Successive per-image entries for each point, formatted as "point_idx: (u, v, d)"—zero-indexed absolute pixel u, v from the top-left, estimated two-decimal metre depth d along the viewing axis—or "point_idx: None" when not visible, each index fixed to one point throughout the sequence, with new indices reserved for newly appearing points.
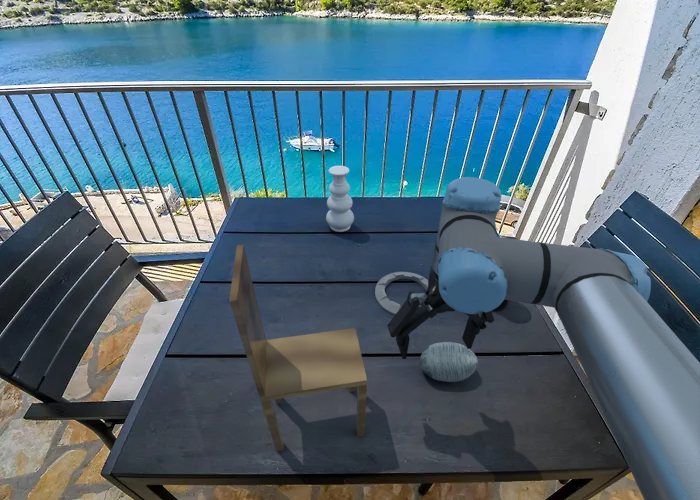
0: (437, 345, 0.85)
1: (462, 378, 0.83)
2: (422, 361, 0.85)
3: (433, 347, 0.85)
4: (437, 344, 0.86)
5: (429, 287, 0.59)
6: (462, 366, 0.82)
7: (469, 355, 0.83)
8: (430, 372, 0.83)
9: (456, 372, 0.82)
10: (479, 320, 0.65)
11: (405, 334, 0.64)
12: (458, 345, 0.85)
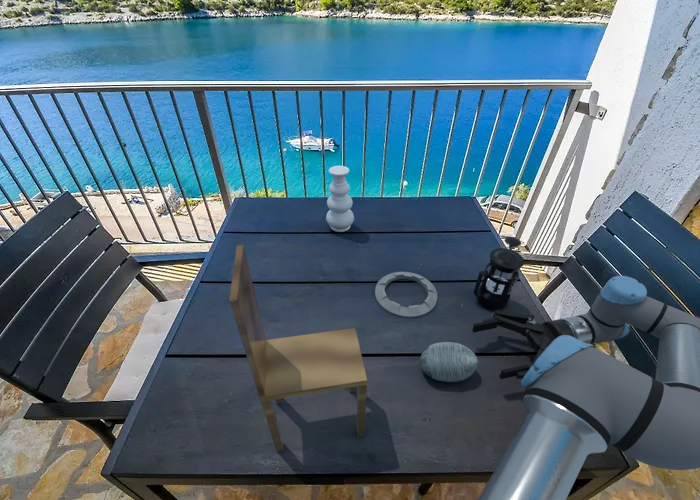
0: (437, 345, 0.85)
1: (462, 378, 0.83)
2: (422, 361, 0.85)
3: (433, 347, 0.85)
4: (437, 344, 0.86)
5: None
6: (462, 366, 0.82)
7: (469, 355, 0.83)
8: (430, 372, 0.83)
9: (456, 372, 0.82)
10: None
11: None
12: (458, 345, 0.85)
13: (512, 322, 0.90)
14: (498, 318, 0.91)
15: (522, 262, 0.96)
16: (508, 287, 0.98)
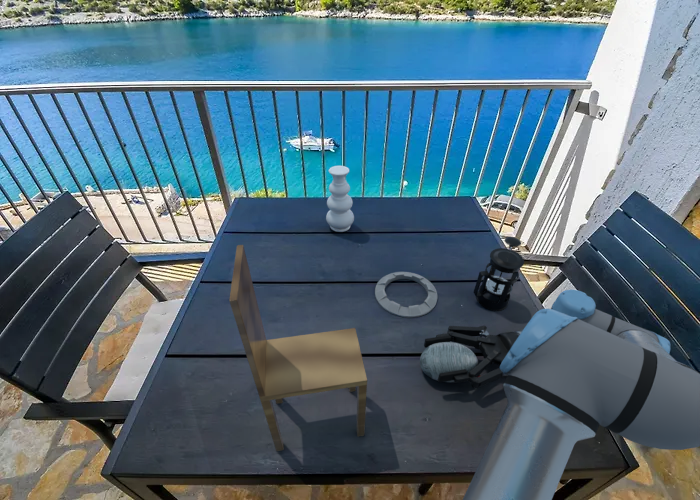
0: (437, 345, 0.85)
1: None
2: (422, 361, 0.85)
3: (433, 347, 0.85)
4: (437, 344, 0.86)
5: None
6: (462, 366, 0.82)
7: (469, 355, 0.83)
8: (430, 372, 0.83)
9: None
10: None
11: None
12: (458, 345, 0.85)
13: (465, 336, 0.88)
14: (451, 334, 0.89)
15: (522, 262, 0.96)
16: (508, 287, 0.98)
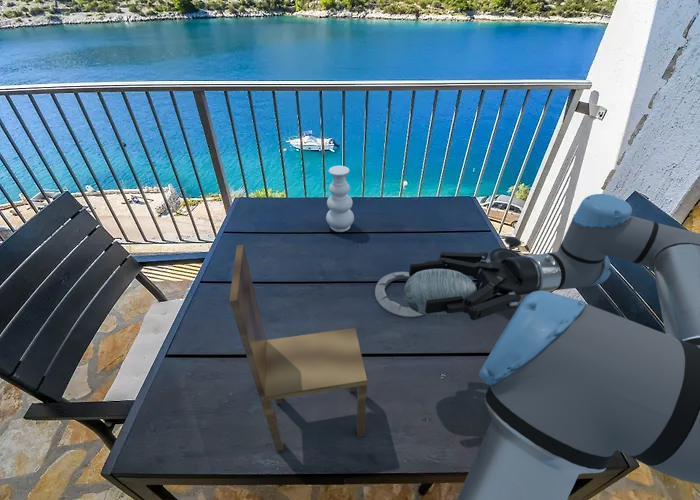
0: (425, 271, 0.67)
1: None
2: (405, 290, 0.66)
3: (420, 273, 0.66)
4: (425, 270, 0.67)
5: (521, 289, 0.65)
6: (456, 293, 0.63)
7: (466, 281, 0.65)
8: (415, 302, 0.64)
9: None
10: None
11: None
12: (452, 271, 0.67)
13: (461, 263, 0.69)
14: (443, 260, 0.70)
15: None
16: None
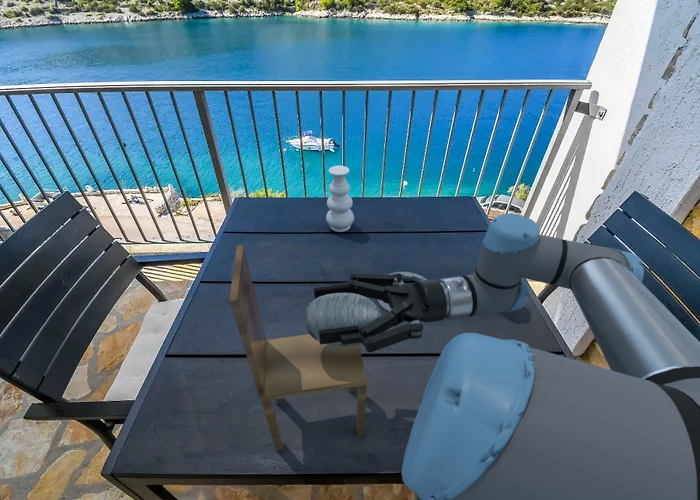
0: (326, 296, 0.62)
1: None
2: None
3: (320, 298, 0.61)
4: (327, 295, 0.62)
5: (429, 317, 0.60)
6: (355, 322, 0.58)
7: (367, 308, 0.59)
8: (311, 331, 0.59)
9: None
10: None
11: None
12: (355, 295, 0.61)
13: (369, 286, 0.64)
14: (351, 283, 0.65)
15: None
16: None
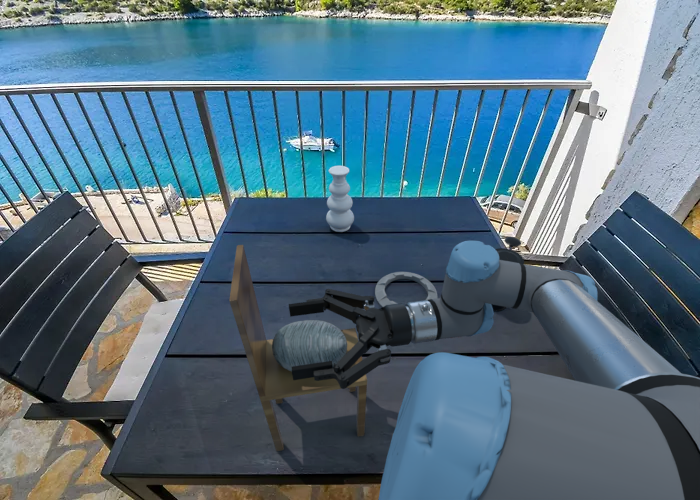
0: (293, 324, 0.63)
1: None
2: None
3: (287, 326, 0.62)
4: (295, 322, 0.63)
5: (394, 342, 0.61)
6: (319, 351, 0.59)
7: (332, 337, 0.60)
8: (278, 360, 0.60)
9: (312, 359, 0.59)
10: None
11: None
12: (322, 323, 0.63)
13: (341, 304, 0.66)
14: (325, 299, 0.67)
15: (522, 262, 0.96)
16: None
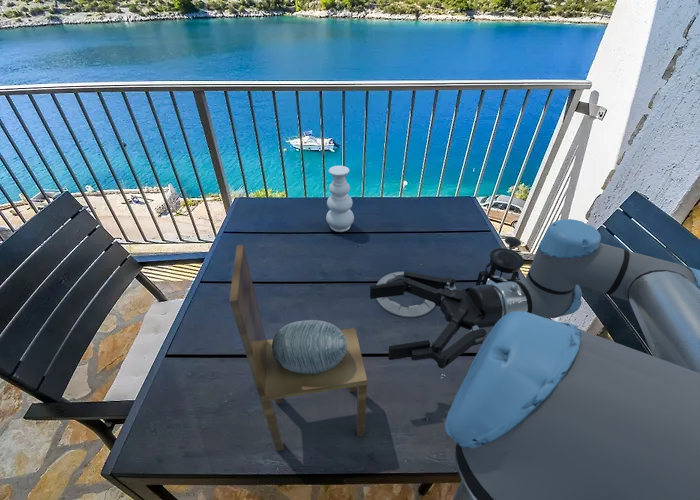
0: (293, 324, 0.63)
1: (322, 368, 0.60)
2: None
3: (287, 326, 0.62)
4: (295, 322, 0.63)
5: (484, 322, 0.60)
6: (320, 351, 0.59)
7: (332, 337, 0.60)
8: (278, 360, 0.60)
9: (312, 359, 0.59)
10: None
11: None
12: (322, 323, 0.63)
13: (423, 286, 0.65)
14: (405, 281, 0.66)
15: (522, 262, 0.96)
16: None
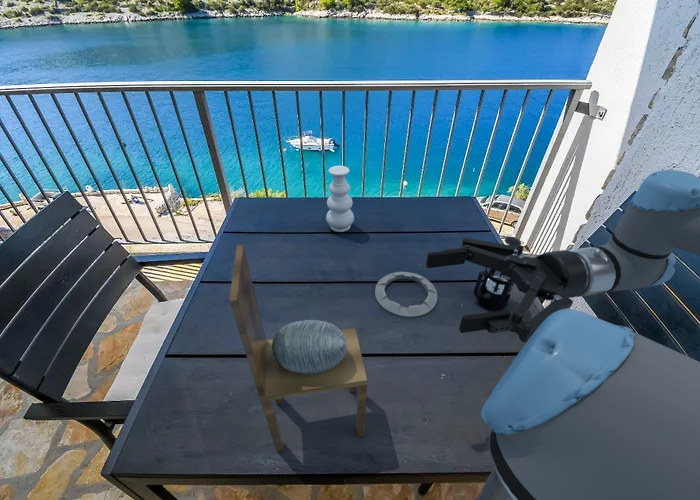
0: (293, 324, 0.63)
1: (322, 368, 0.60)
2: None
3: (287, 326, 0.62)
4: (295, 322, 0.63)
5: (566, 292, 0.52)
6: (320, 351, 0.59)
7: (332, 337, 0.60)
8: (278, 360, 0.60)
9: (312, 359, 0.59)
10: None
11: None
12: (322, 323, 0.63)
13: (488, 253, 0.57)
14: (467, 248, 0.58)
15: None
16: (508, 287, 0.98)
